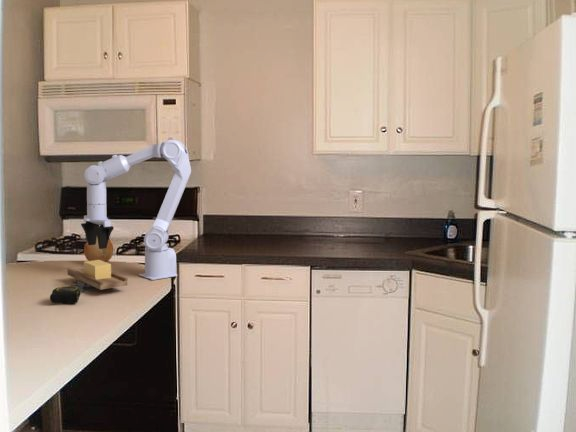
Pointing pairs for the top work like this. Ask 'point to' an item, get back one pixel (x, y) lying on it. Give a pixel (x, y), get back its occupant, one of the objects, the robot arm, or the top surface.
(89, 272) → the block
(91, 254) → the onion
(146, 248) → the robot arm
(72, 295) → the tape measure
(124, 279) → the beam
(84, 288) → the pivot stand
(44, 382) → the top surface
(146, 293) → the top surface
